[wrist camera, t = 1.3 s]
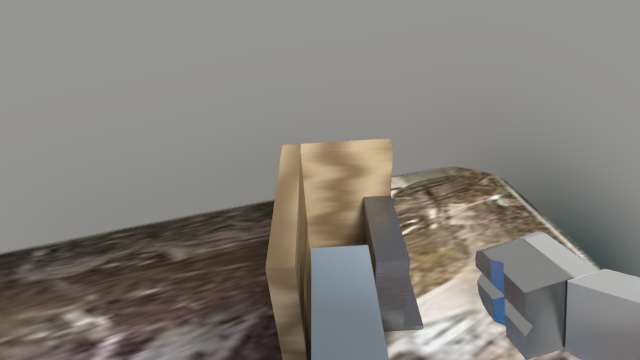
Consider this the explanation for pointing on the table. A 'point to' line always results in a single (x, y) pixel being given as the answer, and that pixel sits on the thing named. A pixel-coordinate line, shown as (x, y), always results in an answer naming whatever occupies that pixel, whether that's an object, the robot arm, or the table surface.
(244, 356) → the table surface
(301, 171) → the oak shelf
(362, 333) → the slate book box
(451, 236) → the table surface
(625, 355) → the robot arm
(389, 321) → the metal bookend
